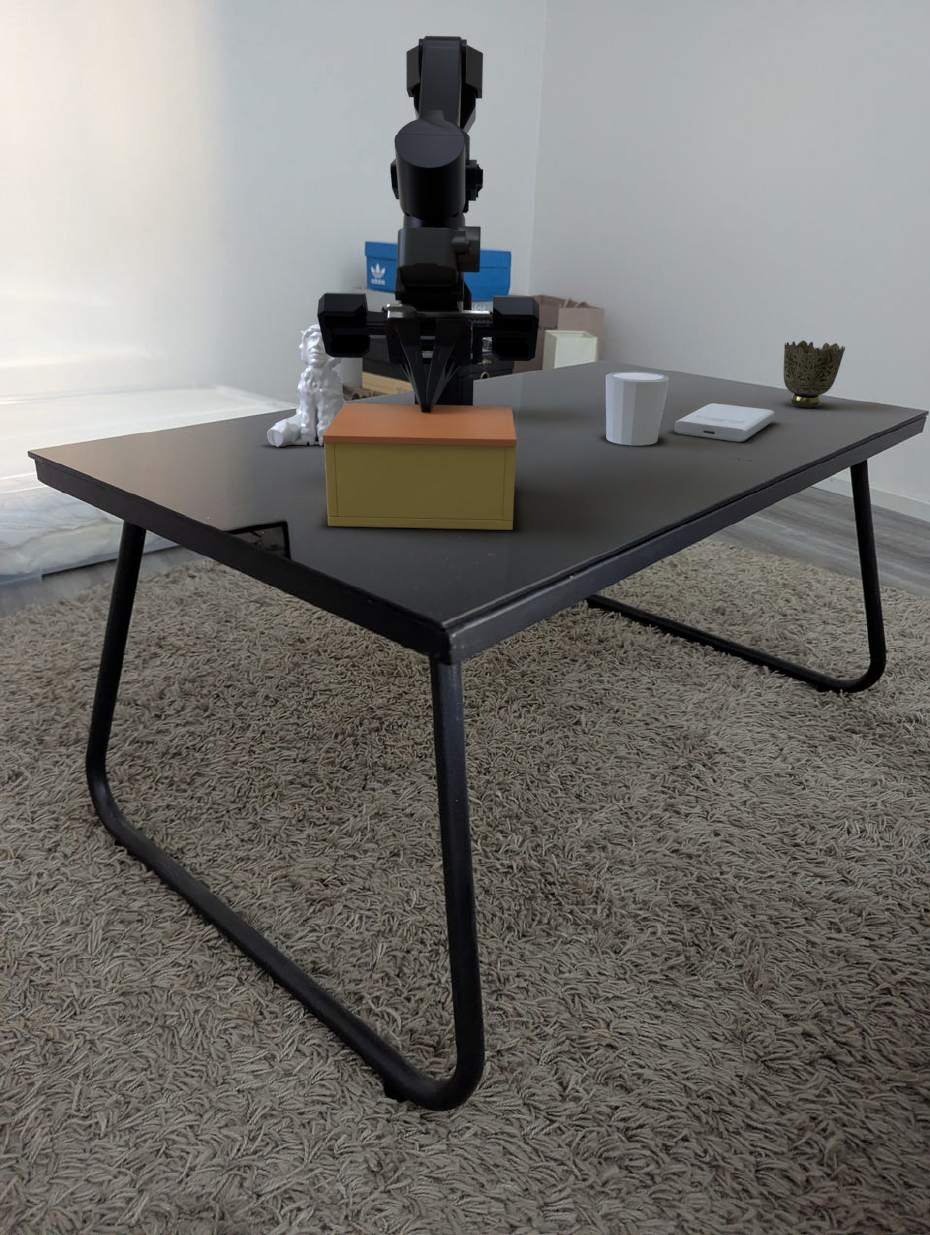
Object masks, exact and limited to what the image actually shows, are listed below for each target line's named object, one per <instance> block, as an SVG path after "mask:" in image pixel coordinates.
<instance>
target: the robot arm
mask: <svg viewBox="0 0 930 1235" xmlns="http://www.w3.org/2000/svg"><path fill="white" fill-rule="evenodd" d="M405 57H406V58H405V60H406V62H405V63H406V64H405V66H406V67H405V70H406V73H405V75H406V76H405V77H406V78H405V80H406V83H405V84H406V87H405V88H406V93H407V96H408V98H413V108H414V114H415V119H414V120H411V121H409V122H408V123H406V124H405V125H403V126H402V127H401V128H400V129H399V130H398V132H397V133H396V135H394V136H395V137H394V142H393V143H394V153H395V154H394V155H395V158H394V159H393V160H392V161H391V163H390V165H389V167H390V168H389V171H390V181H391V190H392V192H393V195H394V197H395V200H397V201H398V200H399V208H400V209H401V211H402V213H403V217H402V218H403V220H402V227H401V228H400V229H398V231H397V247H396V249H397V251H396V252H397V253H396V267H395V272H394V273H395V274H394V288H393V291H394V300H395V301H396V302H397V303H387V304H386V311H369V306H368V300H367V299H368V298H367V293H366V292H332V291H331V292H330V291H329V292H325V293H323V294H322V295H321V297H320V298H319V299H318V303H317V313H316V317H317V321H318V325H319V326H320V330H321V335H322V339H323V343H324V348H325V352H326V354H328V355H329V356H331V357H333V358H342V359H362V358H364V357H365V356H367V355H368V354H369V353H370V352H371V349H372V347H371V346H372V339H385V341H386V350H387V358H388V362H389V364H390V365H392V366H397V367H398V366H399V367H401V369H402V371H403V373H404V374H405V376H406V377H407V379H408V381H409V383H410V385H411V387H412V390H413V393H414V405H419V406H420V409H421V412H431V411H432V409H433V408H434V406H435V405H461V406H474V379H475V378H474V375H473V374H472V372H471V371H472V370H471V369H472V366H477V364H483V352H484V350H483V348H484V347H483V345H484V343H483V342H484V338H491V344H490V345H491V346H490V348H491V350H490V352H491V353H490V354H491V355H492V356H493V357H494V358H496V359H497V360H499V362H530V361H532V360H533V359H535V358H536V351H537V345H538V344H537V343H538V336H539V335H538V333H539V326H540V303H539V302H538V301H537V300H536V298H534V296H533V295H493V296H492V311H491V310H473V295H472V291H470V288H469V286H468V285H467V283H466V281H465V273H478V274H479V273H480V271H481V242H482V241H481V240H482V239H481V236H482V234H481V233H482V232H481V230H482V228H481V226H479V225H478V226H477V225H476V226H474V225H472V226H471V225H466V217H465V214H468V212H470V210H469V209H470V202H477V199H478V198H479V193H480V191H481V190H482V189H483V188H484V169H483V168H481V166H480V164H479V163H478V159H471V136H470V135H469V131H470V130H471V128H472V127H473V125H474V123H475V121H476V118H477V100H478V99H481V100H482V99H483V84H484V83H483V82H484V81H483V80H484V79H483V78H484V53H483V52H482V51H480V50H478V49H476V48H474V47H472V46H470V45H469V44H468V39H467V38H466V39H465V38H464V39H463V38H462V37H461V35H459V36H458V35H457V36H456V35H455V36H452V35H425V36H424V37H423V38H418V44H417V45H416V46H414V47H413V48H410V49H408V50H407V51H406V54H405Z"/></svg>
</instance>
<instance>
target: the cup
mask: <svg viewBox="0 0 930 1235" xmlns="http://www.w3.org/2000/svg"><path fill="white" fill-rule="evenodd" d="M845 351H846V346H844V345H841V347H840V346H839V345H838V343H837V342H835V343H833V344H831V345H830V344H829V342H825V343H824V344H823V345H822V347H815V346H814V342H813V341H810V342H809V343H807V341H806V340H804V339H803V340H800V341H799V342H798V344H796V342H795V341H794V340H793V341H792V342H791V344H790V342H788V341H787V342H784V350H783V383H784V385H785V387H786V389H787V390H788V391H789V392H790V393H792V395H791V397H790V403H791V404H792V405H793V406H795V407H796V408H804V409H806V408H807V409H813V408H816V407H818V406H819V404H820V402H821V397H820V396H822V395H824V394H826V393H827V392H828V391H830V389H831V388H832V387H833V385H834V383H835V381H836V378H837V376H838V373H839V369H840V367H841V363H842V360H843V356H844V353H845Z"/></svg>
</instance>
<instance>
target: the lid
mask: <svg viewBox="0 0 930 1235" xmlns="http://www.w3.org/2000/svg"><path fill="white" fill-rule="evenodd" d="M513 414H514V413H513V408H512V406H507V405H506V406H505V405H473V406H461V405H435V406H434V408H433V409H432V411H431V412H421V409H420V406H419V405H415V404H409V403H408V404H405V403H404V404H403V403H360V402H359V403H357V402H355V403H353V402H346V403H345V404H344V405H343V407H342V408H341V409H340V411H339V412H338V414H337V415H336V417H335V418H334V420H333V421H332V422H331V424H330V425H329V427H328V428H327V430H326V431H325V433H324V434H323V436H322V437H323V443H355V444H404V445H453V446H501V447H516V448H517V442H518V441H517V440H518V438H517V433H516V427H515V420H514V415H513Z"/></svg>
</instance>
